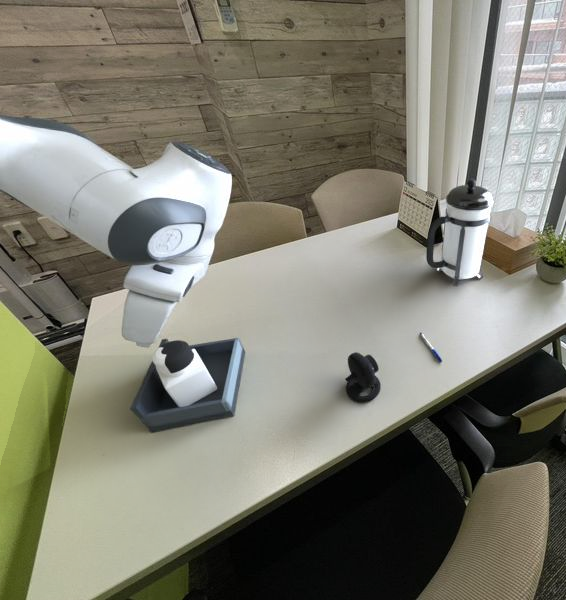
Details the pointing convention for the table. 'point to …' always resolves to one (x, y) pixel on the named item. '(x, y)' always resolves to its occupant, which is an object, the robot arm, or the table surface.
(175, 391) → the medicine bottle
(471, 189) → the coffee press
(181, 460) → the table surface
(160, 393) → the drawer
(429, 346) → the ballpoint pen
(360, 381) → the webcam
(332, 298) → the table surface
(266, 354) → the table surface
